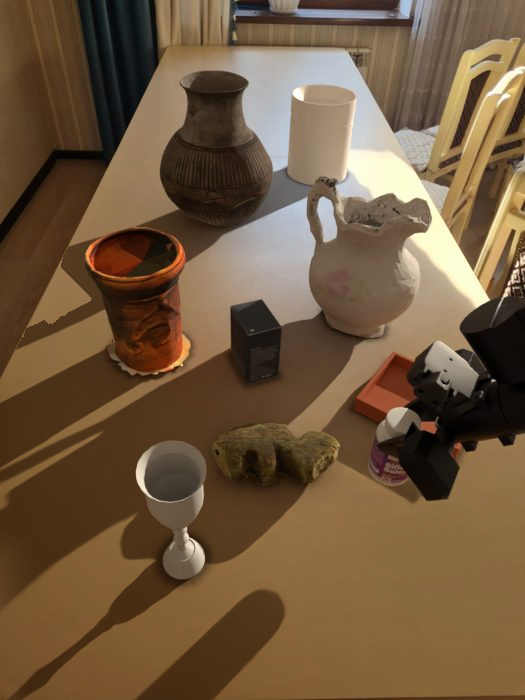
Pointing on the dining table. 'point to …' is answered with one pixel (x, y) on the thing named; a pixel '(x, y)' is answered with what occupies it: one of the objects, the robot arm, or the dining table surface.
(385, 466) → the pill bottle
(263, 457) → the sculpture
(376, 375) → the tray
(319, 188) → the ceramic pitcher
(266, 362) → the box
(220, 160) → the vase
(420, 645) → the dining table surface
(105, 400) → the dining table surface
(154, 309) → the vessel
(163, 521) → the chalice
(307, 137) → the canister
